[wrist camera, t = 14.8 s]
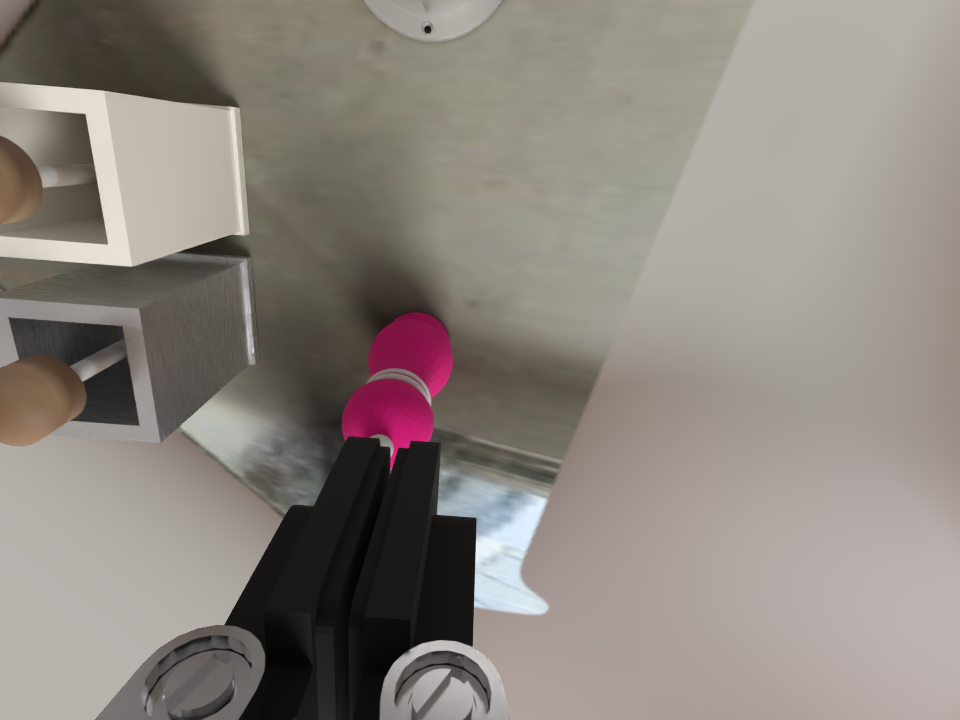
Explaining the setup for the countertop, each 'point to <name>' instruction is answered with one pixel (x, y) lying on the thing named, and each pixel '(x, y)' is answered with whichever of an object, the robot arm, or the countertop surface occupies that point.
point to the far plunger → (46, 393)
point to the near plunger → (32, 181)
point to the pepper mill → (401, 383)
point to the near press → (125, 174)
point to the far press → (140, 337)
